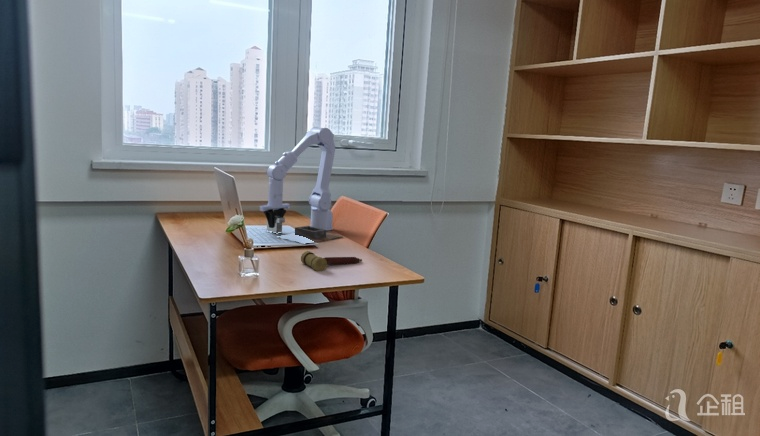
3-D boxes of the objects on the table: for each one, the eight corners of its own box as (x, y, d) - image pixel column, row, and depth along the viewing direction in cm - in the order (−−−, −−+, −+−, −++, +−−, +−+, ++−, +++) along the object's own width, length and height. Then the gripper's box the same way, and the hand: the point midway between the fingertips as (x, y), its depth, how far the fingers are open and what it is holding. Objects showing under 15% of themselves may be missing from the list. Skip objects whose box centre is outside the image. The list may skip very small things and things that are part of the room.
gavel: (355, 250, 191) (370, 257, 183) (353, 263, 192) (369, 270, 183) (301, 251, 179) (315, 258, 171) (299, 264, 180) (313, 272, 172)
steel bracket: (272, 231, 228) (272, 214, 226) (284, 234, 223) (284, 217, 222) (266, 231, 225) (267, 215, 224) (278, 235, 221) (279, 218, 220)
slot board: (315, 231, 234) (315, 222, 233) (343, 237, 224) (343, 229, 224) (276, 237, 216) (276, 228, 216) (304, 244, 207) (305, 235, 206)
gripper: (282, 192, 230) (281, 223, 232) (255, 194, 219) (254, 227, 221) (293, 194, 226) (292, 226, 228) (266, 196, 214) (265, 230, 217)
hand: (274, 227), depth 224 cm, fingers closed on steel bracket, 3 cm apart
